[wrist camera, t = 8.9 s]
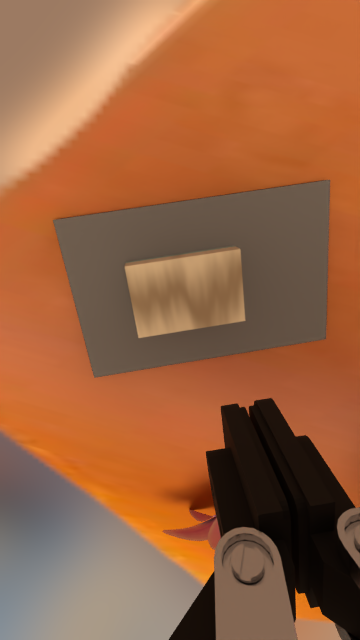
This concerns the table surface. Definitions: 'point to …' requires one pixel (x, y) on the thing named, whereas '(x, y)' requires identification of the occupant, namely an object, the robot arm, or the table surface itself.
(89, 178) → the table surface
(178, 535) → the lily
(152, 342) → the mat
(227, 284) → the tile
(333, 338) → the table surface
